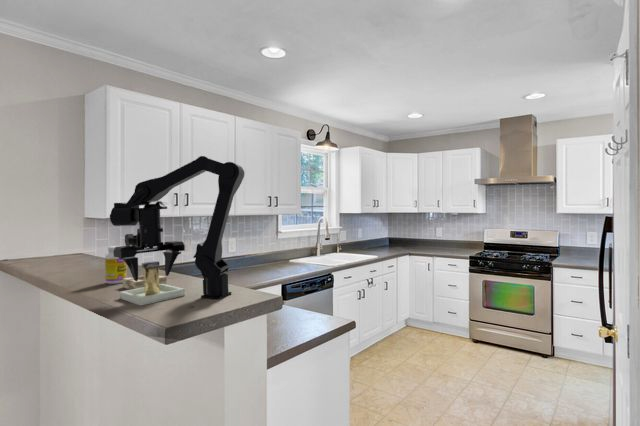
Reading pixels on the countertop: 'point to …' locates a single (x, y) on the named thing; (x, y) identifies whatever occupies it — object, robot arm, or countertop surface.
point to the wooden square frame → (139, 282)
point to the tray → (140, 298)
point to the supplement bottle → (114, 267)
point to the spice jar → (151, 277)
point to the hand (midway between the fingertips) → (152, 278)
